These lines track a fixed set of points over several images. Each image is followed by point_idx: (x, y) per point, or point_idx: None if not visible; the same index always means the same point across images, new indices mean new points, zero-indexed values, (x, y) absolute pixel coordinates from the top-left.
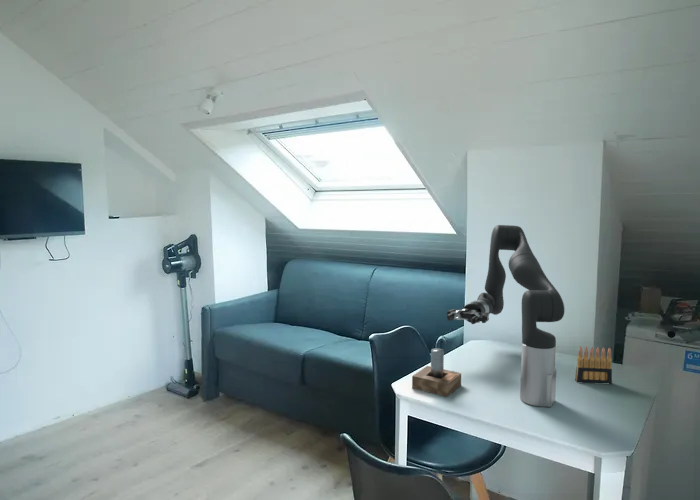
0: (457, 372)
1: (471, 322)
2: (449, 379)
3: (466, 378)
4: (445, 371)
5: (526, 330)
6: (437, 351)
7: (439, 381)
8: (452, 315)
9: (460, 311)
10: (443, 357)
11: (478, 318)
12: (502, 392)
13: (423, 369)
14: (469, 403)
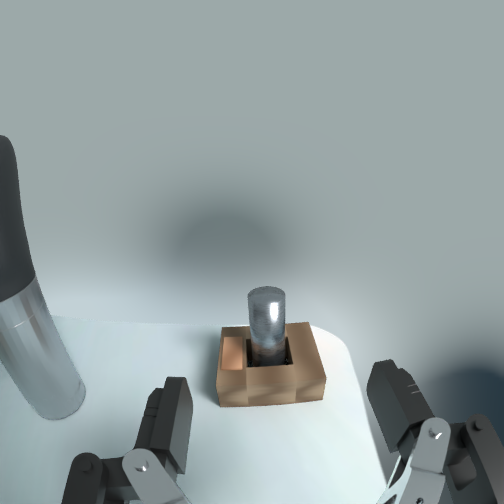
0: (227, 384)
1: (190, 396)
2: (226, 341)
3: (223, 452)
4: (259, 374)
5: (25, 232)
6: (261, 290)
7: (243, 328)
8: (393, 409)
9: (398, 499)
10: (249, 313)
11: (138, 442)
12: (118, 410)
13: (315, 355)
14: (178, 346)
